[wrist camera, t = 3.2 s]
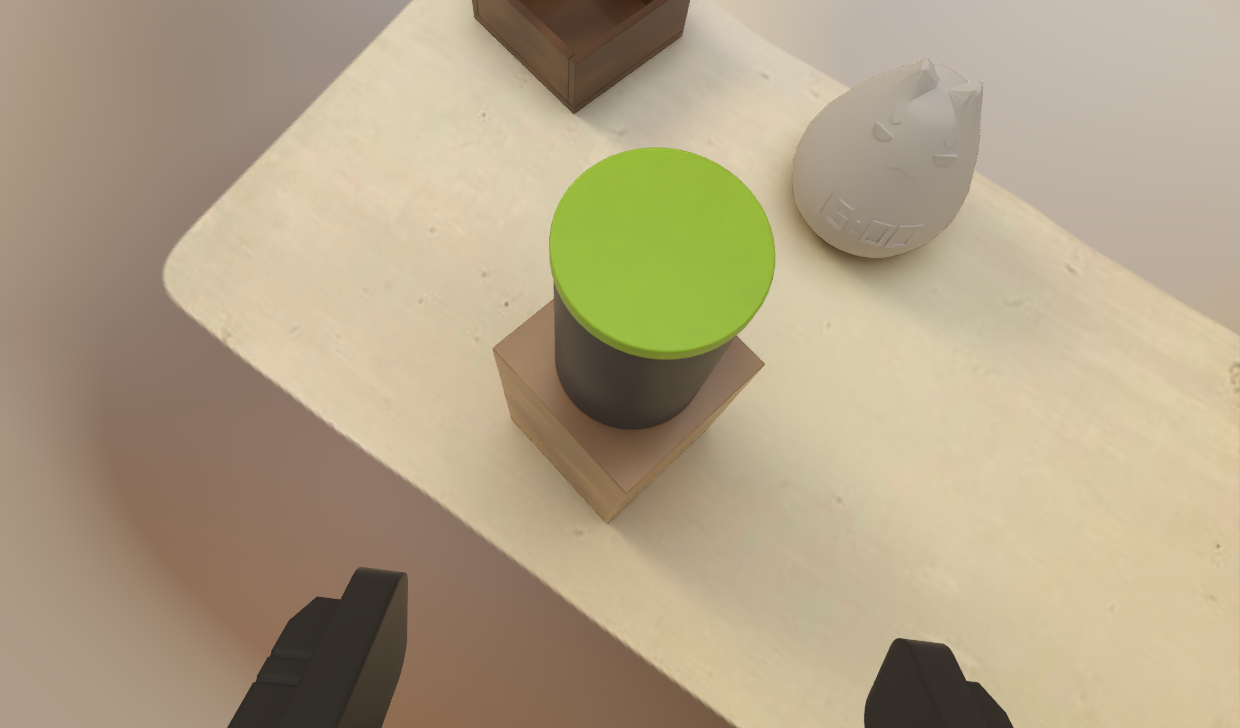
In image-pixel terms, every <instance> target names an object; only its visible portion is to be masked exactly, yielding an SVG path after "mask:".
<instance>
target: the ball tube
mask: <svg viewBox="0 0 1240 728" xmlns="http://www.w3.org/2000/svg"><path fill="white" fill-rule="evenodd" d="M549 249H550V265H551V272H552V276H553V279H554V330H555V364H556V370H557V374H558V377H559V380H560V383H561V385H562V387H563V389H564V391H565V392H566V394H567V396H568V397H569V398H570V400H571V401H572V402H573V403H574V404H575V405H576V406H577V407H578V408H579V409H580V410H581V411H582V412H583V413H585V414H586V415H588V416H589V417H591V418H592V419H594V420H596V421H598V422H600V423H603V424H605V425H608V426H611V427H615V428H621V429H644V428H650V427H653V426H657V425H660V424H662V423H664V422H667V421H669V420H670V419H672V418H674V417H675V416H677V415H678V414H679V413H680V412H682V411H683V410H684V409H685V408H686V407H687V406H688V405H689V404H690V402H691V401H692V399H693V398H694V397H695V395H696V394H697V392H698V391H699V389H700V388H701V386H702V385H703V384H704V382H705V381H706V379H707V378H708V376H709V375H710V373H711V372H712V370H713V369H714V367H715V366H716V365H717V363H718V362H719V360H720V359H721V357H722V356H723V354H724V353H725V351H726V350H727V348H728V347H729V346H730V344H731V343H732V341H733V340H734V338H735V337H736V335H737V334H738V333H740V332H741V331H742V330H743V329H744V328H745V326H746V325H747V324H748V323H749V322H750V321H751V319H752V318H753V317H754V315H755V314H756V312H757V311H758V309H759V308H760V307H761V305H762V304H763V302H764V300H765V298H766V296H767V294H768V292H769V289H770V286H771V283H772V280H773V274H774V269H775V246H774V239H773V235H772V231H771V227H770V224H769V222H768V219H767V217H766V214H765V212H764V211H763V209H762V207H761V205H760V203H759V202H758V200H757V199H756V198H755V196H754V195H753V194H752V192H751V191H750V190H749V189H748V188H747V187H746V186H745V185H744V184H743V182H742V181H741V180H739V179H738V178H737V177H736V176H735V175H733V174H732V173H731V172H730V171H728V170H726V169H725V168H723V167H722V166H720V165H719V164H717V163H715V162H713V161H711V160H709V159H707V158H705V157H702V156H699V155H697V154H694V153H690V152H686V151H682V150H677V149H670V148H642V149H635V150H630V151H625V152H622V153H619V154H616V155H613V156H610V157H608V158H606V159H604V160H602V161H600V162H598V163H597V164H595V165H594V166H592V167H591V168H589V169H588V170H586V171H585V172H584V173H583V174H582V175H581V176H580V177H578V178H577V179H576V180H575V182H574V183H573V184H572V185H571V186H570V187H569V188H568V190H567V191H566V193H565V194H564V196H563V197H562V199H561V201H560V203H559V205H558V207H557V209H556V211H555V214H554V218H553V221H552V224H551V231H550V238H549Z"/></svg>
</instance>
